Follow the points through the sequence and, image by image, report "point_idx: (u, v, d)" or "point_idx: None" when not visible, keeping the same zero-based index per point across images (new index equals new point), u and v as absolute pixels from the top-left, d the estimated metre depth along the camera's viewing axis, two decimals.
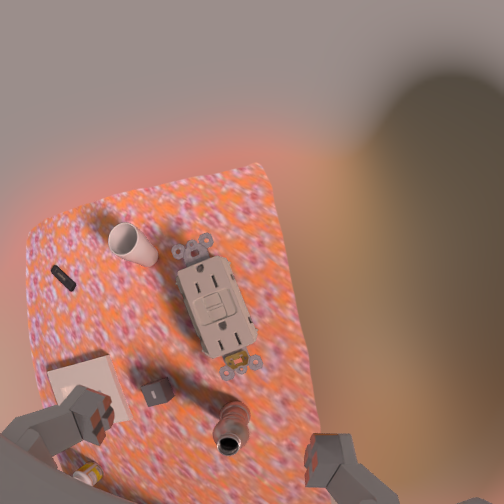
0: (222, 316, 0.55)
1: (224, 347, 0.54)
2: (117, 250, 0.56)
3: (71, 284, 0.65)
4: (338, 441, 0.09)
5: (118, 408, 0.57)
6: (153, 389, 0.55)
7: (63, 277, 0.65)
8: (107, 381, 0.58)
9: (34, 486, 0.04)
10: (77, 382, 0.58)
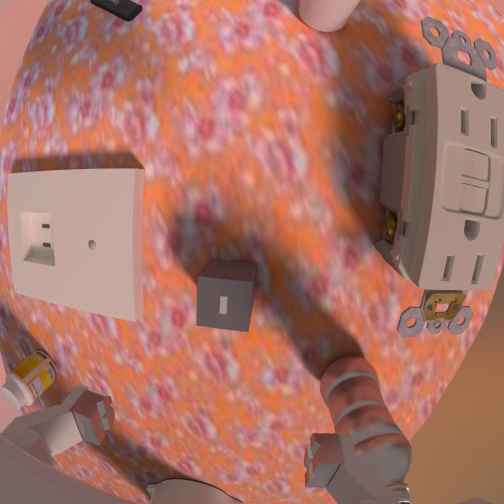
0: (477, 209, 0.19)
1: (451, 275, 0.20)
2: None
3: (132, 7, 0.24)
4: (338, 441, 0.09)
5: (120, 291, 0.30)
6: (228, 293, 0.25)
7: (114, 1, 0.23)
8: (117, 227, 0.28)
9: (34, 486, 0.04)
10: (53, 209, 0.28)
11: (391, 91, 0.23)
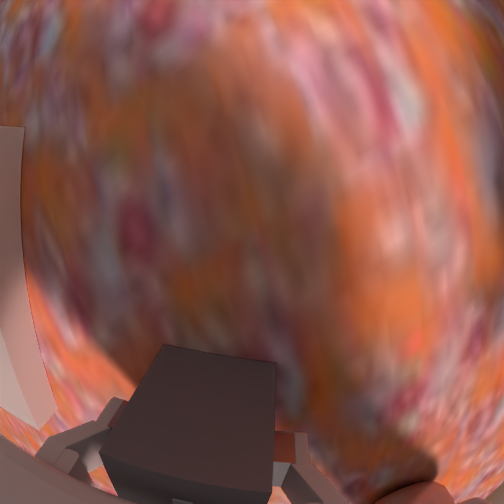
0: None
1: None
2: None
3: None
4: (292, 439, 0.09)
5: (3, 380, 0.11)
6: (196, 500, 0.06)
7: None
8: None
9: (34, 486, 0.04)
10: None
11: None
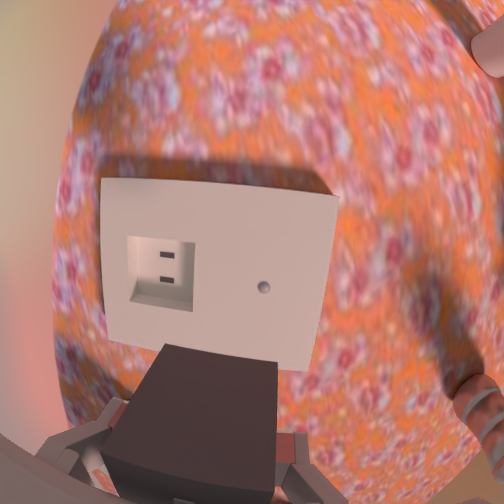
0: None
1: None
2: None
3: None
4: (292, 439, 0.09)
5: (296, 341, 0.26)
6: (198, 500, 0.06)
7: None
8: (306, 267, 0.24)
9: (35, 486, 0.04)
10: (197, 237, 0.24)
11: None
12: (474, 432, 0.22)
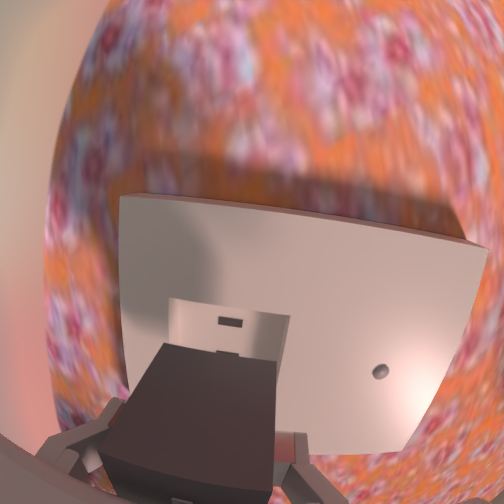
0: None
1: None
2: None
3: None
4: (292, 439, 0.09)
5: (400, 424, 0.16)
6: (195, 499, 0.06)
7: None
8: (437, 342, 0.14)
9: (34, 486, 0.04)
10: (296, 307, 0.14)
11: None
12: None
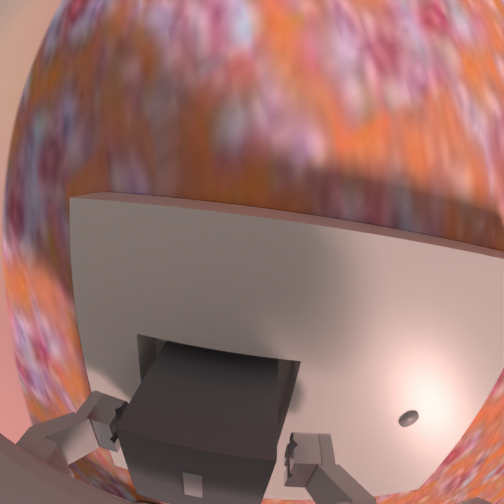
0: None
1: None
2: None
3: None
4: (317, 441, 0.09)
5: (421, 466, 0.12)
6: (205, 472, 0.07)
7: None
8: (476, 381, 0.10)
9: (34, 486, 0.04)
10: (308, 351, 0.10)
11: None
12: None
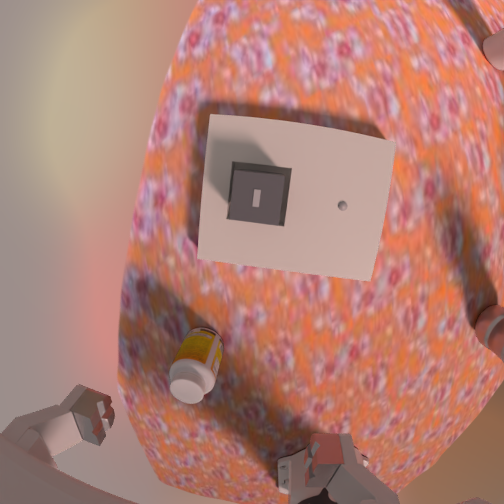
0: None
1: None
2: None
3: None
4: (338, 441, 0.09)
5: (363, 252, 0.32)
6: (262, 186, 0.27)
7: None
8: (373, 191, 0.30)
9: (34, 486, 0.04)
10: (294, 164, 0.30)
11: None
12: (496, 350, 0.29)
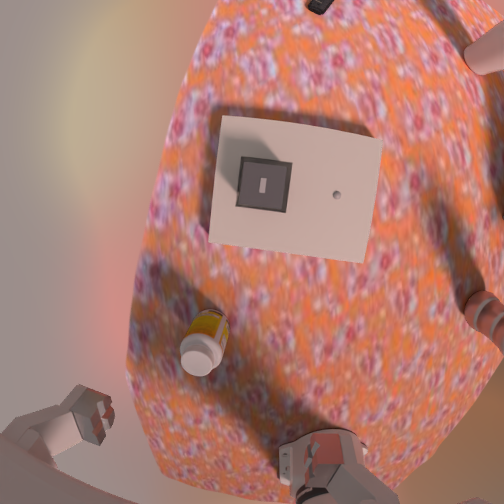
0: None
1: None
2: None
3: None
4: (338, 441, 0.09)
5: (356, 236, 0.36)
6: (267, 175, 0.31)
7: None
8: (363, 183, 0.35)
9: (34, 486, 0.04)
10: (294, 159, 0.35)
11: None
12: (485, 331, 0.33)
